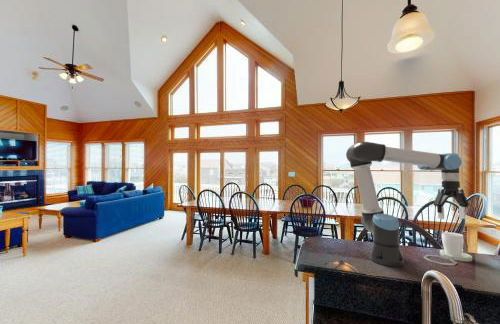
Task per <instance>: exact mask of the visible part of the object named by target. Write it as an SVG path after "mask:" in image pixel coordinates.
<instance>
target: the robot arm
mask: <svg viewBox="0 0 500 324" xmlns="http://www.w3.org/2000/svg"><path fill="white" fill-rule="evenodd" d="M345 153H346V154H345V155H346V156H345V157H346V159H347V161H348V162H349V165H350V168H352V169H353V170H354V174H355V178H356V182H357V186H358V192H359V196H360V200H361V205H362V209H361V211H360V213H361V215H362V216H361V219H360V221H361V222H360V223H361V225H362V226H363V228H364V229H365V230H366V231H368V232H369V233H370V234H372V239H373V240H372V243H373V244H372V247H371V249H370V252H369V258H370V260H371V261H373V262H374V263H376V264H380V265H381V266H382V265H383V266H388V267H402V266H403V267H404V265H405V258H404V256H403V254H402V251H401V249H400V224H399V223H400V222H399V218H397V217H396V216H394V215H392V214H388V213H385V211H384V209H383V208H382V207H380V203H379V199H378V195H377V191H376V187H375V182H374V178H373V174H372V170H371V166H372V165H373V162H377V163H378V162H379V163H382V162H389V163H390V162H391V163H397V164H399V163H400V164H406V165H411V166H412V165H413V166H417V168H418V170H421V171H441V180H442V181H441V187H442V188H438V189H437V190H438V191H437V194H436V197H435V199H434V202H433V206H435V207H437V208H436V209H437V215H438V216H437V218H438V219H441V220H445V207H444V205H445V203H446V202H447V201H448V199H450V198H454V199H455V202H457V203H458V205H459V206H458V218H459V219H463V220H465V219H466V208H468V207H469V206H470V204H469V201H468V199H467V197H466V195H465V191H464V189H462V188H461V183H460V167H461V165H462V164H463V163H462V162H463V160H462V158H461V157H460V155H459V154H458V153H452V152H450V153H435V152H434V153H433V152H426V151H420V150H412V149H405V148H398V147H392V146H391V147H390V146H386V145H385V144H383V143H377V142H371V141H370V142H369V141H360V142H357V143H354V144H352V145H351V146H350V147H348V148H347V150H346V152H345Z"/></svg>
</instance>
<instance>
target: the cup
mask: <svg viewBox="0 0 500 324" xmlns="http://www.w3.org/2000/svg"><path fill="white" fill-rule="evenodd" d="M441 241H442V246H443V250H444V251H445V254H448V255H451V256H455V257H462V252H463V250H464V242H465V241H464V235H463V234H461V233H458V232H453V231H442V232H441Z"/></svg>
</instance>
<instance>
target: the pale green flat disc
mask: <svg viewBox="0 0 500 324" xmlns="http://www.w3.org/2000/svg"><path fill="white" fill-rule="evenodd" d="M439 256H442V257H446V258H450V259H452V260H454V261H459V262H472V261H473V256H472V255H470V254H469V253H466V252H463V251H462V257H455V256H451V255H448V254H445V251H444V249H439Z"/></svg>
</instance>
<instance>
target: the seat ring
mask: <svg viewBox="0 0 500 324" xmlns="http://www.w3.org/2000/svg"><path fill="white" fill-rule="evenodd" d="M428 257H431V258H440V259H444V260H447V261H450V262H452V263H446V262H444V263H443V262H439V261H435V260H432V259H430V258H428ZM423 259H425V260H426V261H428V262H431V263H434V264H437V265H441V266H450V267H451V266H456V265H458V262H457V260H453V259H450V258H446V257H443V256H441V255H436V254H426V255H424V256H423Z"/></svg>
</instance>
